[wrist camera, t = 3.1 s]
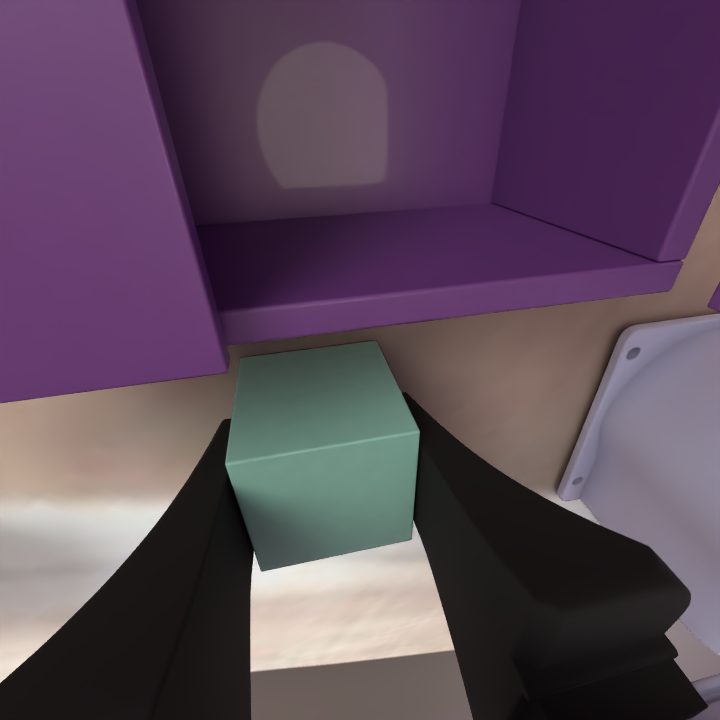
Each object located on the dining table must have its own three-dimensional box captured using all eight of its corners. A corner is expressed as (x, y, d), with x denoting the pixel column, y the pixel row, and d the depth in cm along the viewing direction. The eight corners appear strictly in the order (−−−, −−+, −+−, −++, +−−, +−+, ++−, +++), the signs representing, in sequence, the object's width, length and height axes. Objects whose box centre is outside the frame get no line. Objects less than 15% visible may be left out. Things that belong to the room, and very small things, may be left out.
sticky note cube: (377, 436, 14) (412, 540, 10) (263, 455, 13) (260, 573, 10) (376, 339, 12) (421, 431, 8) (239, 356, 11) (224, 464, 8)
